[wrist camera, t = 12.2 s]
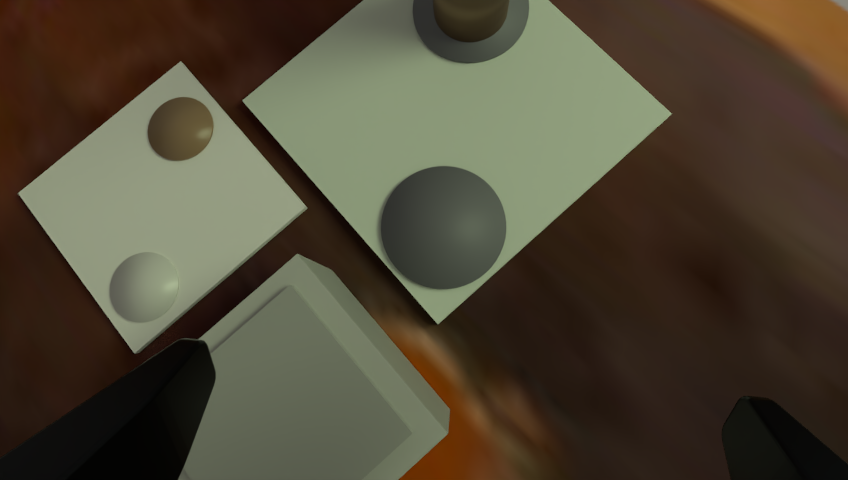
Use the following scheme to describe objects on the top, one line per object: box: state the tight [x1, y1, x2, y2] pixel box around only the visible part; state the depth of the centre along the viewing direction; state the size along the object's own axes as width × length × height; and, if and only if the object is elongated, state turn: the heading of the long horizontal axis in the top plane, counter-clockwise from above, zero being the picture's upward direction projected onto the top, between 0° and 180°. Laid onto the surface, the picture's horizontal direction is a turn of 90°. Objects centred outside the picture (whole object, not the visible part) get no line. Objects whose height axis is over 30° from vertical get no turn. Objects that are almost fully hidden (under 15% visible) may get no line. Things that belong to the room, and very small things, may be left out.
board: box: [242, 0, 671, 324], centre depth 23 cm, size 14×14×1 cm
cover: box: [178, 254, 450, 480], centre depth 19 cm, size 8×8×5 cm
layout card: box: [18, 61, 307, 354], centre depth 24 cm, size 10×10×1 cm
